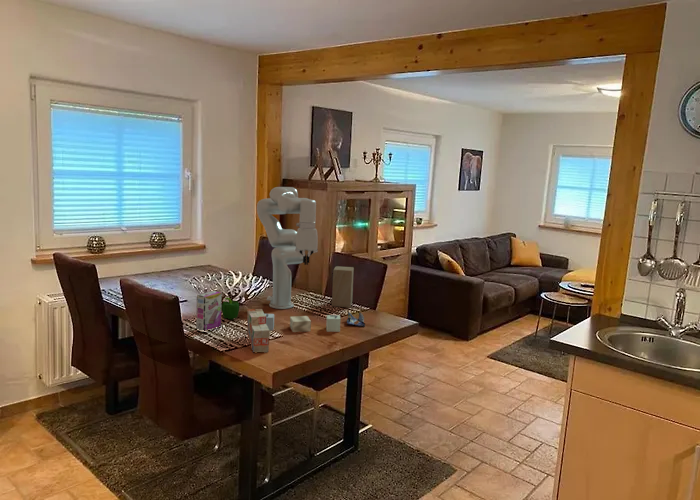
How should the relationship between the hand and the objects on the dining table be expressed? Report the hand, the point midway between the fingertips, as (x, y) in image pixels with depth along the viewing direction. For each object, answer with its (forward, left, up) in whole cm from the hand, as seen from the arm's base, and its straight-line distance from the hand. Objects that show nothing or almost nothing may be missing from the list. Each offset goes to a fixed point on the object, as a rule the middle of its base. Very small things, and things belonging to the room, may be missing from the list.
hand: (306, 264), depth 256 cm
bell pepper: (-30, -18, -27) cm, 44 cm away
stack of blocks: (+2, -41, -28) cm, 50 cm away
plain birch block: (+6, -14, -27) cm, 31 cm away
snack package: (+24, +8, -28) cm, 37 cm away
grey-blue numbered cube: (-7, -22, -27) cm, 35 cm away
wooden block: (+3, +35, -27) cm, 44 cm away
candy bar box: (-27, -37, -27) cm, 53 cm away
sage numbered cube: (+19, -6, -27) cm, 34 cm away
